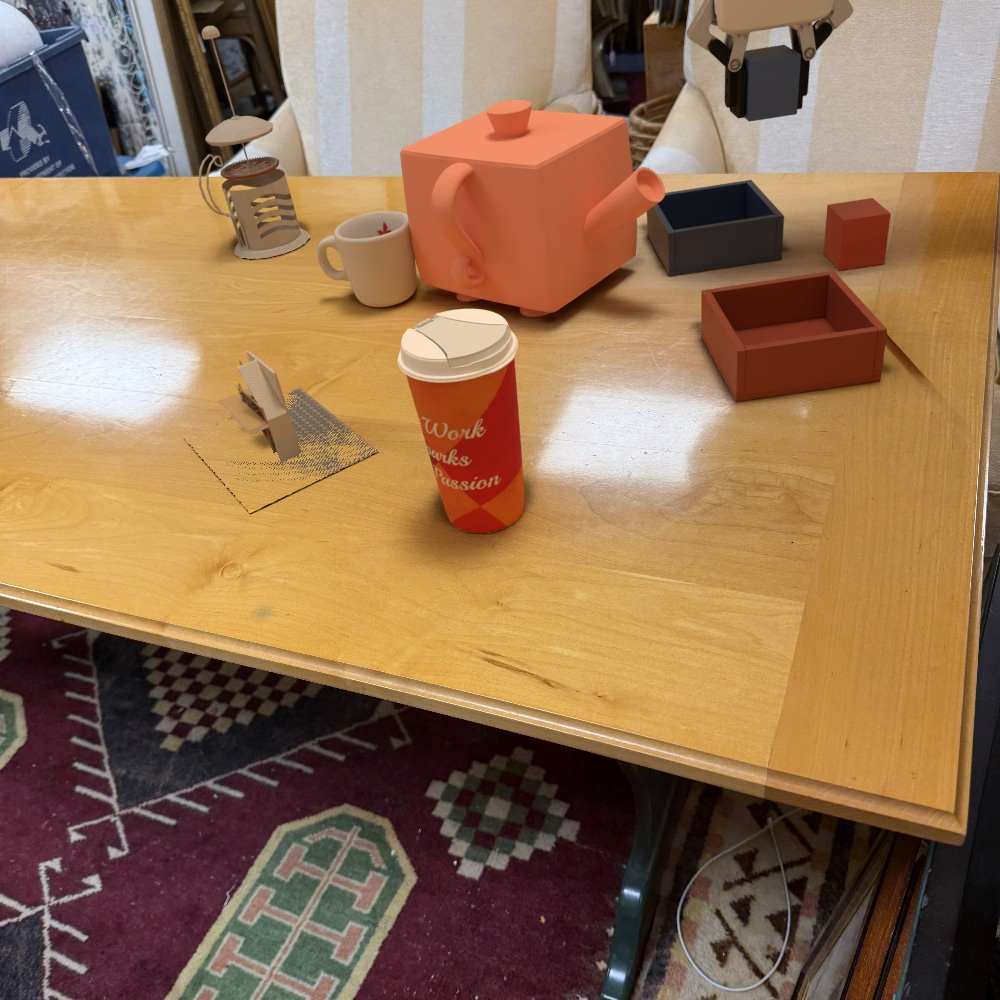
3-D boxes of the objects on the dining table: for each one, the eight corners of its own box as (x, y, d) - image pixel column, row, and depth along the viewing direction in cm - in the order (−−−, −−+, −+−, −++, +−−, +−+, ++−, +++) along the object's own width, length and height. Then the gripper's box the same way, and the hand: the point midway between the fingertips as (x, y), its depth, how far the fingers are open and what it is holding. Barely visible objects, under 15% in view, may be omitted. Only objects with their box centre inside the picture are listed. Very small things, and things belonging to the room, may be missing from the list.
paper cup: (411, 516, 65) (368, 342, 57) (487, 465, 69) (458, 295, 61) (485, 560, 60) (451, 376, 52) (563, 502, 64) (543, 322, 56)
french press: (326, 236, 114) (269, 16, 100) (250, 271, 108) (177, 42, 93) (281, 224, 120) (222, 15, 106) (207, 256, 114) (132, 39, 99)
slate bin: (749, 220, 100) (751, 179, 98) (781, 259, 91) (784, 215, 89) (647, 235, 101) (646, 195, 98) (669, 276, 92) (668, 233, 89)
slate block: (781, 102, 85) (784, 44, 82) (797, 114, 82) (801, 54, 79) (734, 109, 85) (736, 51, 82) (748, 121, 82) (750, 61, 79)
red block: (867, 247, 91) (872, 197, 88) (884, 264, 87) (891, 213, 84) (823, 253, 91) (827, 204, 88) (838, 270, 88) (843, 220, 85)
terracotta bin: (829, 318, 80) (834, 270, 78) (880, 380, 71) (887, 329, 69) (701, 337, 81) (701, 290, 78) (735, 402, 72) (737, 351, 69)
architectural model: (264, 471, 73) (235, 390, 68) (232, 438, 78) (203, 361, 73) (302, 453, 74) (277, 373, 70) (268, 422, 79) (242, 345, 74)
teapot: (722, 266, 92) (725, 77, 81) (595, 366, 79) (579, 158, 68) (528, 233, 106) (509, 69, 95) (394, 313, 93) (354, 134, 83)
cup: (315, 315, 96) (295, 242, 91) (343, 283, 102) (325, 213, 97) (411, 314, 93) (395, 238, 88) (434, 280, 99) (420, 208, 94)
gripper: (862, -148, 75) (841, 86, 86) (660, -116, 75) (664, 114, 86) (901, -146, 69) (873, 106, 80) (682, -112, 69) (683, 135, 80)
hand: (765, 107), depth 83 cm, fingers closed on slate block, 4 cm apart
